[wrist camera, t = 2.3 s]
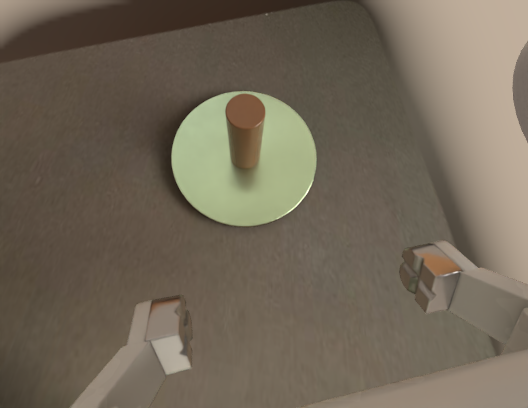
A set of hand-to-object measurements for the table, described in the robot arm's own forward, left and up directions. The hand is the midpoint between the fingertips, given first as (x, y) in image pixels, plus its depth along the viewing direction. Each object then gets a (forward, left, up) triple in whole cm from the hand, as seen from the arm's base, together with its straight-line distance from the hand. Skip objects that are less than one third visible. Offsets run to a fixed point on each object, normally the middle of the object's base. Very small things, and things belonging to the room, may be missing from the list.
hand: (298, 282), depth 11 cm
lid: (-2, -10, -12) cm, 16 cm away
